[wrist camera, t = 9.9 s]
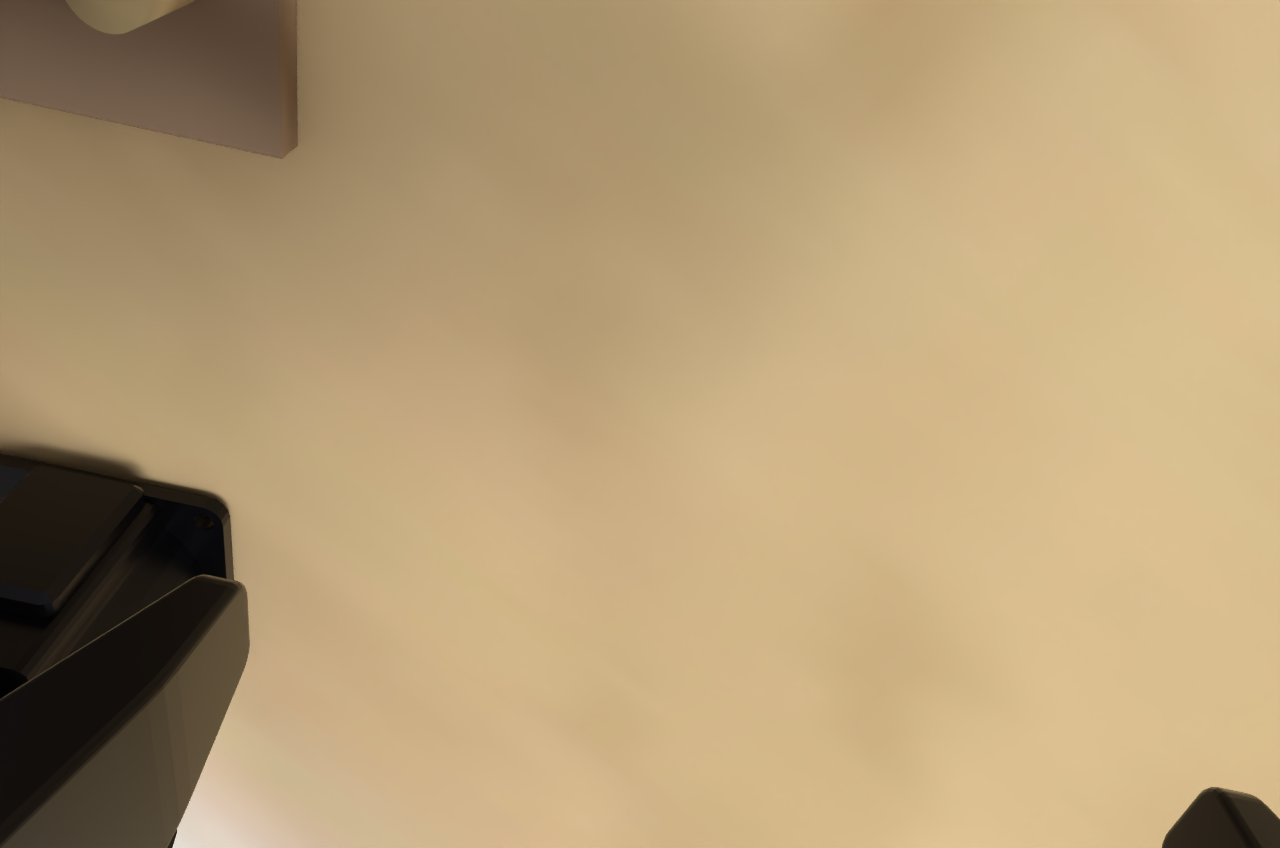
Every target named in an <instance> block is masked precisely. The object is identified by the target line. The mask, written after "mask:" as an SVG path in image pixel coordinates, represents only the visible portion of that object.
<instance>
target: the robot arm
mask: <svg viewBox="0 0 1280 848" xmlns="http://www.w3.org/2000/svg"><path fill="white" fill-rule="evenodd" d="M203 515H205V516H207V517H209V518H210V519H211V520H209V519H207V518H206V517H204V516H203ZM249 646H250V640H249V619H248V599H247V591H246V588H245V586H244V585H243V584H242V583H240V582H238V581H234V575H233V558H232V541H231V524H230V515H229V512H228V510H227V509H226V507H225V506H224V505H223V504H222V503H220V502H219V501H217V500H215V499H212V498H208V497H204V496H199V495H194V494H189V493H185V492H180V491H175V490H170V489H166V488H161V487H156V486H151V485H147V484H142V483H137V482H132V481H128V480H123V479H118V478H114V477H109V476H104V475H99V474H95V473H90V472H85V471H80V470H76V469H71V468H66V467H61V466H57V465H52V464H47V463H42V462H38V461H33V460H28V459H23V458H19V457H14V456H9V455H4V454H0V848H172V847H173V844H174V840H175V837H176V834H177V827H178V825H179V823H180V822H181V819H182V817H183V815H184V812H185V810H186V808H187V806H188V803H189V801H190V799H191V796H192V794H193V792H194V789H195V787H196V784H197V782H198V780H199V777H200V775H201V772H202V770H203V767H204V765H205V763H206V760H207V758H208V755H209V753H210V751H211V748H212V746H213V743H214V741H215V738H216V736H217V734H218V731H219V729H220V726H221V724H222V722H223V719H224V717H225V714H226V712H227V709H228V707H229V705H230V702H231V700H232V697H233V695H234V693H235V690H236V688H237V685H238V683H239V680H240V678H241V676H242V673H243V671H244V668H245V665H246V662H247V658H248V653H249ZM1162 848H1280V819H1279V818H1278V817H1277V816H1276V815H1275V814H1274V813H1273V812H1272V811H1271V809H1270V808H1269V807H1268V806H1267V805H1266V804H1264V803H1263V802H1262V801H1261V800H1260V799H1258V798H1257V797H1255V796H1253V795H1250V794H1247V793H1243V792H1238V791H1233V790H1228V789H1224V788H1219V787H1210V788H1208V789H1205V790H1203V791H1202V792H1201V793H1200V794H1199V795H1198V796H1197V798H1196V799H1195V800H1194V801H1193V802H1192V804H1191V805H1190V806H1189V807H1188V808H1187V810H1186V811H1185V812H1184V813H1183V815H1182V816H1181V817H1180V818H1179V819H1178V821H1177V822H1176V823H1175V824H1174V825H1173V827H1172V828H1171V829H1170V830H1169V832H1168V833H1167V835H1166V836H1165V839H1164V841H1163V845H1162Z"/></svg>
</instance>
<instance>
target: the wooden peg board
mask: <svg viewBox="0 0 1280 848" xmlns="http://www.w3.org/2000/svg"><path fill="white" fill-rule="evenodd" d="M0 98H4V99H9V100H14V101H18V102H23V103H28V104H32V105H37V106H41V107H46V108H51V109H55V110H60V111H64V112H69V113H74V114H78V115H83V116H87V117H92V118H97V119H101V120H106V121H110V122H115V123H120V124H124V125H129V126H133V127H138V128H143V129H147V130H152V131H156V132H161V133H166V134H170V135H175V136H179V137H184V138H189V139H193V140H198V141H202V142H207V143H212V144H216V145H221V146H226V147H230V148H235V149H239V150H244V151H249V152H253V153H258V154H262V155H267V156H272V157H276V158H281V159H282V158H283V157H284V156H285V155H287V154H288V153H289V152H290V151H291V150H292V149H294V148H295V147H296V146H297V29H296V0H0Z"/></svg>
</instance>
